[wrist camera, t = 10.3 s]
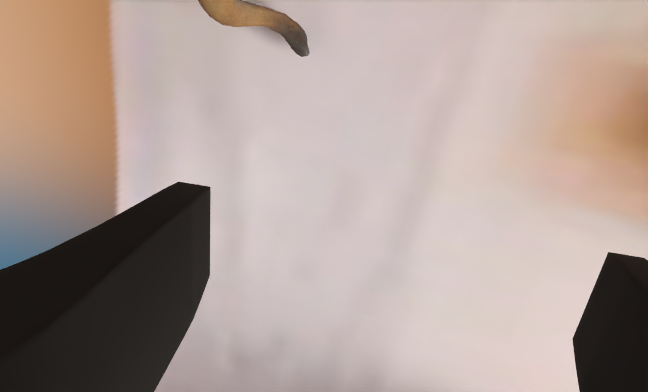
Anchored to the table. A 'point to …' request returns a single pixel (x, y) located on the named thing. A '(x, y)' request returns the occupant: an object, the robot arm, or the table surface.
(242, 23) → the lion figurine
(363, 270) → the table surface
